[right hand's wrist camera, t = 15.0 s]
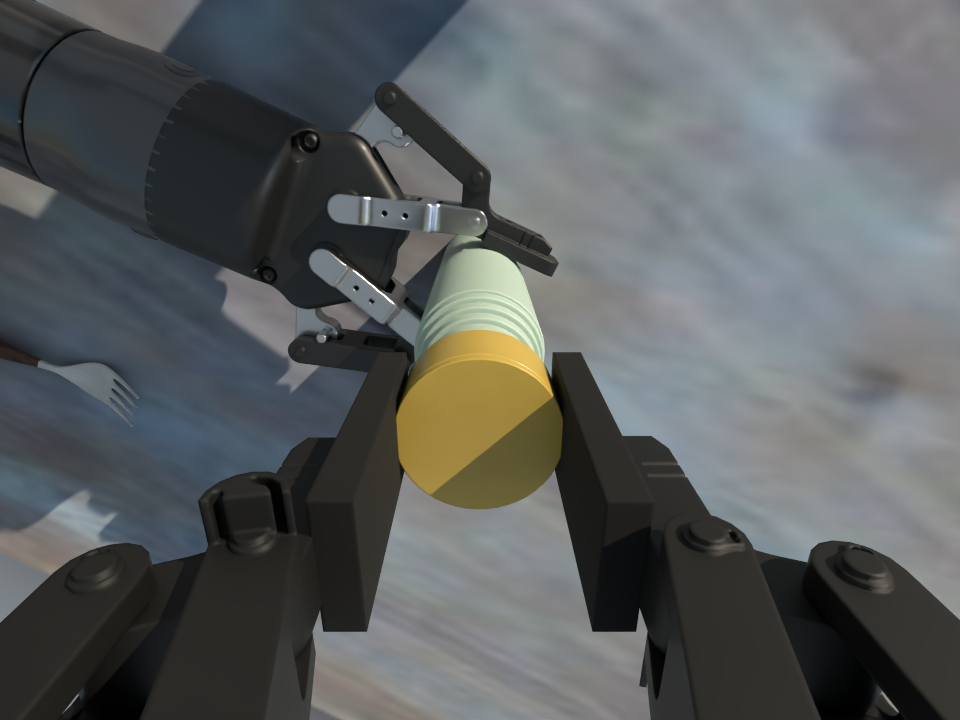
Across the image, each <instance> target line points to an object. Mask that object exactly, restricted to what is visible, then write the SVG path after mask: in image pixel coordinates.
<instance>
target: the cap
mask: <svg viewBox="0 0 960 720" xmlns="http://www.w3.org/2000/svg"><path fill="white" fill-rule="evenodd" d="M396 422H397V437H398V453H399V462H400V464H401V466H402V467H403V469H404V471H405V472H406V474H407V475H408V476H409V478H410V479H411V480H412V481H413V482H414V483H415V484H416V485H417V486H418V487H419V488H420V489H422V490H423V491H424V492H425V493H427V494H428V495H430V496H432V497H433V498H435V499H437V500H439V501H442V502H444V503H447V504H450V505H453V506H456V507H461V508H468V509H490V508H498V507H502V506H506V505H509V504H512V503H514V502H517V501H519V500H521V499H523V498H525V497H527V496H528V495H530V494H531V493H533V492H534V491H536V490H537V489H538V488H539V487H540V486H542V485H543V484H544V483H545V481H546V480H547V479H548V478H549V477H550V476H551V474H552V473H553V471H554V470H555V468H556V466H557V464H558V462H559V460H560V457H561V444H562V428H563V416H562V412H561V409H560V406H559V402H558V399H557V396H556V393H555V389H554V386H553V383H552V380H551V377H550V374H549V372H548V370H547V368H546V366H545V364H544V363H543V361H542V360H541V359H540V357H539V356H538V355H537V354H536V353H535V352H534V351H533V350H532V349H531V348H530V347H529V346H527V345H526V344H525V343H523V342H522V341H520V340H518V339H516V338H514V337H512V336H510V335H507V334H504V333H501V332H497V331H492V330H467V331H461V332H458V333H454V334H451V335H449V336H446V337H444V338H442V339H440V340H439V341H437V342H435V343H434V344H432V345H431V346H430V347H429V348H427V349H426V350H425V351H424V352H423V353H422V354H421V355H420V357H419V358H418V359H417V361H416V362H415V363H414V365H413V367H412V369H411V371H410V373H409V376H408V379H407V382H406V385H405V388H404V391H403V394H402V397H401V400H400V404H399V407H398V410H397V413H396Z"/></svg>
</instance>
